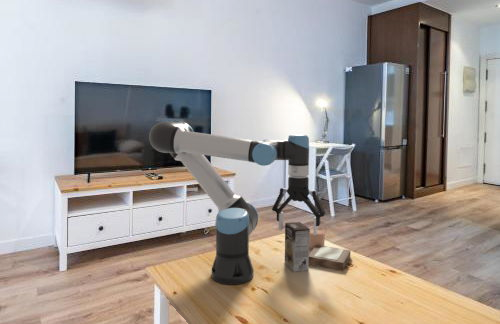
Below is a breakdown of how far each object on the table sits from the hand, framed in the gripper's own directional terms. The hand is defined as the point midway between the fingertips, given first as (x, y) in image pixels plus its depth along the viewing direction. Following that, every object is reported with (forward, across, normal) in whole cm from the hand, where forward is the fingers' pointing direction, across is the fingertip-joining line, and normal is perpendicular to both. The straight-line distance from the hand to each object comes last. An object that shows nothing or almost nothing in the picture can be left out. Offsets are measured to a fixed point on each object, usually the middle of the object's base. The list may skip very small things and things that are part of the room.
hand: (297, 231), depth 135 cm
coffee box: (+14, 0, 0) cm, 14 cm away
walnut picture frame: (+14, +10, +11) cm, 20 cm away
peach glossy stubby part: (+14, +1, +22) cm, 26 cm away
